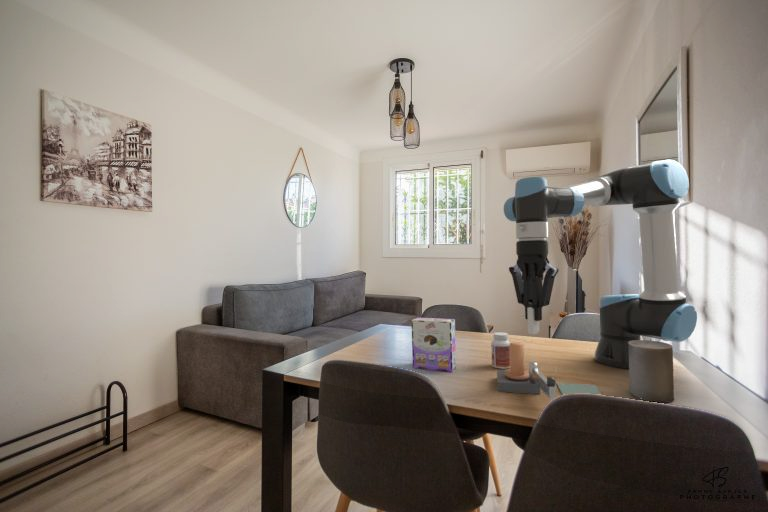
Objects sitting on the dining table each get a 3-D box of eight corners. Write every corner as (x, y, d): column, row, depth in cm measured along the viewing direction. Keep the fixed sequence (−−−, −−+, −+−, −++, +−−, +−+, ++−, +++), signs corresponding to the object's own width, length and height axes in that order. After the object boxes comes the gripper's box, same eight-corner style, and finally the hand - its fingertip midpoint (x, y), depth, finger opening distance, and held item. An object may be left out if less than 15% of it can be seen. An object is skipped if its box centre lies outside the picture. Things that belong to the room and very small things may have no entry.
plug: (529, 382, 111) (528, 341, 111) (531, 391, 105) (531, 347, 104) (504, 380, 113) (503, 340, 113) (505, 389, 107) (504, 346, 106)
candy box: (456, 367, 127) (455, 318, 127) (452, 372, 122) (451, 321, 121) (417, 363, 133) (416, 316, 133) (411, 368, 127) (410, 319, 127)
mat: (595, 386, 107) (595, 385, 107) (605, 400, 97) (605, 398, 97) (556, 383, 110) (556, 382, 110) (562, 396, 100) (562, 395, 100)
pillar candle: (680, 396, 99) (678, 339, 99) (665, 406, 93) (664, 345, 93) (638, 386, 107) (636, 333, 107) (622, 394, 101) (621, 338, 101)
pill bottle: (515, 367, 126) (514, 333, 126) (502, 370, 123) (502, 336, 123) (500, 362, 131) (499, 330, 131) (487, 366, 128) (487, 333, 128)
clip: (528, 380, 105) (528, 359, 105) (536, 380, 105) (536, 359, 105) (547, 403, 89) (547, 379, 89) (557, 403, 89) (557, 379, 89)
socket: (535, 380, 113) (535, 372, 113) (540, 394, 102) (540, 385, 102) (497, 378, 116) (497, 369, 116) (497, 391, 105) (497, 382, 105)
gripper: (501, 240, 99) (503, 330, 99) (546, 238, 88) (548, 340, 88) (519, 240, 103) (521, 327, 103) (564, 238, 92) (566, 335, 92)
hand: (533, 332), depth 96 cm, fingers closed
